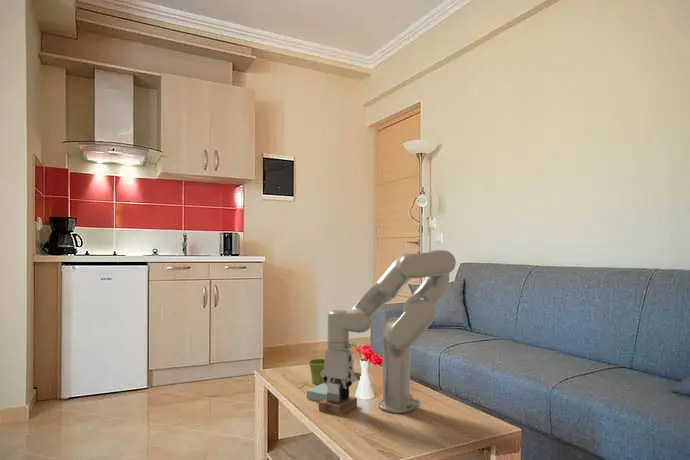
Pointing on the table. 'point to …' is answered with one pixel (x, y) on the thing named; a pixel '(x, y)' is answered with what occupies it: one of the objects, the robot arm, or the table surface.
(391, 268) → the robot arm
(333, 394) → the block
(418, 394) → the table surface
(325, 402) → the stand walnut
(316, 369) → the plant pot
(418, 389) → the table surface
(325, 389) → the stand teal
